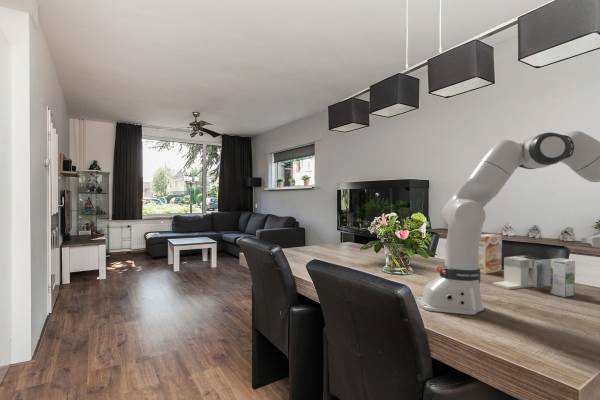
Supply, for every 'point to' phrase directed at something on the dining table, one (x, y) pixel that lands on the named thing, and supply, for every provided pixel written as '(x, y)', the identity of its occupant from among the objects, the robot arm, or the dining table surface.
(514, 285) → the test stand
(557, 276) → the syrup box
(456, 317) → the dining table surface
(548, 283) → the gray boxy block
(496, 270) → the coffeecake box
